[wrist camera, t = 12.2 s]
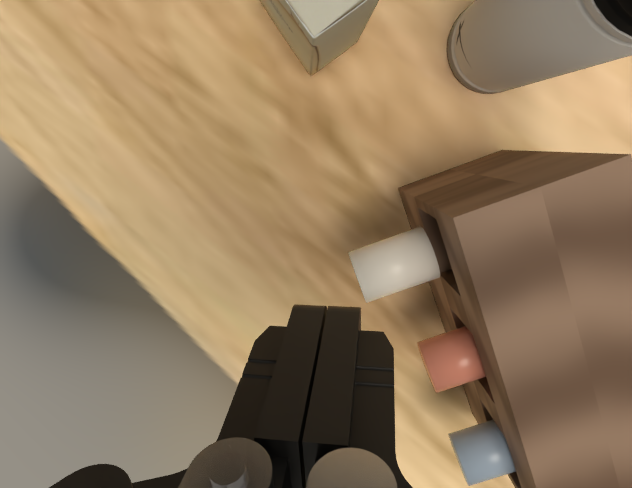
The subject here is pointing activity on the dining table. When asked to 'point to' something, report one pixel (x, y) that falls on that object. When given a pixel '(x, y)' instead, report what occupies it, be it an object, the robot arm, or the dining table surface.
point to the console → (541, 304)
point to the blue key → (482, 452)
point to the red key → (451, 359)
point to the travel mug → (535, 40)
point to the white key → (395, 264)
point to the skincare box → (319, 27)
